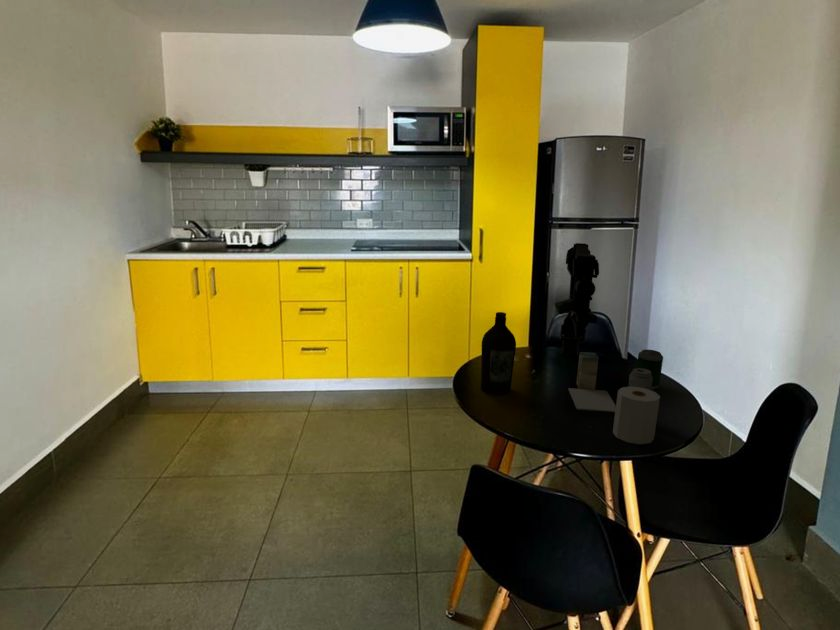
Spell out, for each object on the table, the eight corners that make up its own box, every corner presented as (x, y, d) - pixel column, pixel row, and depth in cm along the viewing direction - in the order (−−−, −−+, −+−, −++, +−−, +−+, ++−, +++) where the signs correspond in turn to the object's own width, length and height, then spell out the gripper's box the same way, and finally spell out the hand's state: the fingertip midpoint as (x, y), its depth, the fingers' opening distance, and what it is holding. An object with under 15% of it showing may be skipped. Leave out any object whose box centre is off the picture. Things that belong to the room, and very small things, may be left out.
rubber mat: (568, 389, 184) (568, 388, 184) (606, 391, 183) (606, 390, 183) (576, 409, 168) (577, 408, 168) (618, 412, 167) (618, 411, 167)
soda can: (662, 391, 185) (667, 356, 182) (638, 390, 185) (643, 355, 182) (653, 383, 192) (658, 349, 189) (631, 382, 192) (635, 348, 189)
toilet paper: (605, 428, 157) (610, 387, 153) (639, 426, 159) (644, 385, 156) (626, 446, 147) (632, 402, 144) (661, 443, 149) (668, 399, 146)
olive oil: (475, 383, 186) (480, 308, 180) (507, 383, 187) (512, 309, 181) (483, 396, 176) (488, 317, 169) (516, 395, 177) (523, 317, 171)
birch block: (576, 383, 189) (579, 352, 186) (591, 384, 189) (595, 352, 186) (579, 389, 184) (582, 356, 182) (594, 390, 184) (598, 357, 181)
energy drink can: (641, 427, 158) (649, 376, 154) (620, 420, 162) (627, 370, 158) (649, 420, 162) (656, 371, 159) (628, 414, 166) (635, 365, 162)
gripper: (551, 287, 202) (547, 330, 205) (565, 296, 184) (561, 343, 187) (582, 288, 202) (578, 331, 205) (600, 298, 184) (595, 345, 187)
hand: (577, 337), depth 196 cm, fingers closed
